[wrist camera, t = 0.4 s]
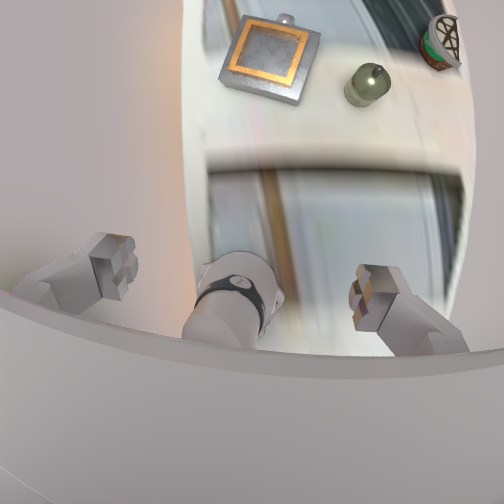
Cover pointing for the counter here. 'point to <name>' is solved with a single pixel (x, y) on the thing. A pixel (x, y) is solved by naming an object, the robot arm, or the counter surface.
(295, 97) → the grey drawer box
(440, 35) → the food container
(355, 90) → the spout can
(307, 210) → the counter surface
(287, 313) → the counter surface
